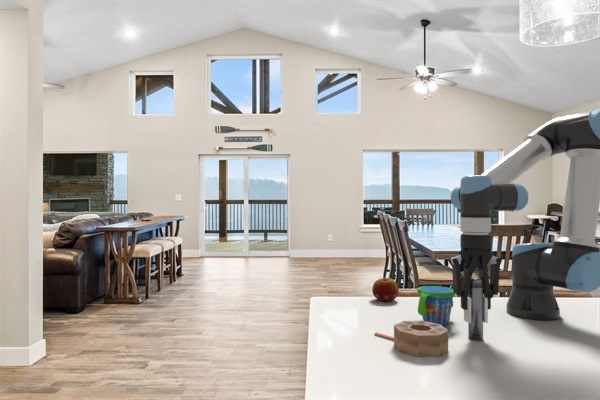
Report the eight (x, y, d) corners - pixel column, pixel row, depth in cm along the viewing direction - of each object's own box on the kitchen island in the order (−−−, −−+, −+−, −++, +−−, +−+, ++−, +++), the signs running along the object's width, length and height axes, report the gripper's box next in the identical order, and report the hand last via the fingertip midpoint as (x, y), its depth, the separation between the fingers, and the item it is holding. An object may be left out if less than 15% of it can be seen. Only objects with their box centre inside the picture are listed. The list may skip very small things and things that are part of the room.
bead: (435, 339, 109) (435, 320, 109) (454, 356, 97) (454, 334, 97) (390, 340, 109) (390, 321, 109) (404, 357, 97) (404, 335, 97)
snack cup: (438, 314, 133) (438, 283, 133) (467, 322, 125) (467, 288, 125) (404, 322, 125) (404, 288, 125) (433, 331, 116) (433, 295, 116)
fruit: (372, 302, 150) (372, 280, 150) (372, 297, 158) (372, 276, 159) (399, 303, 148) (399, 281, 148) (397, 297, 157) (397, 276, 157)
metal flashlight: (479, 336, 112) (479, 277, 112) (486, 340, 108) (485, 279, 108) (465, 336, 112) (465, 277, 112) (472, 341, 108) (472, 279, 108)
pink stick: (415, 345, 105) (415, 343, 105) (413, 346, 104) (413, 344, 104) (376, 334, 114) (376, 332, 114) (374, 335, 113) (374, 333, 113)
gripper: (498, 232, 114) (499, 317, 114) (439, 232, 113) (439, 317, 113) (514, 234, 107) (514, 325, 107) (450, 234, 106) (450, 326, 106)
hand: (475, 321), depth 110 cm, fingers open, 4 cm apart
